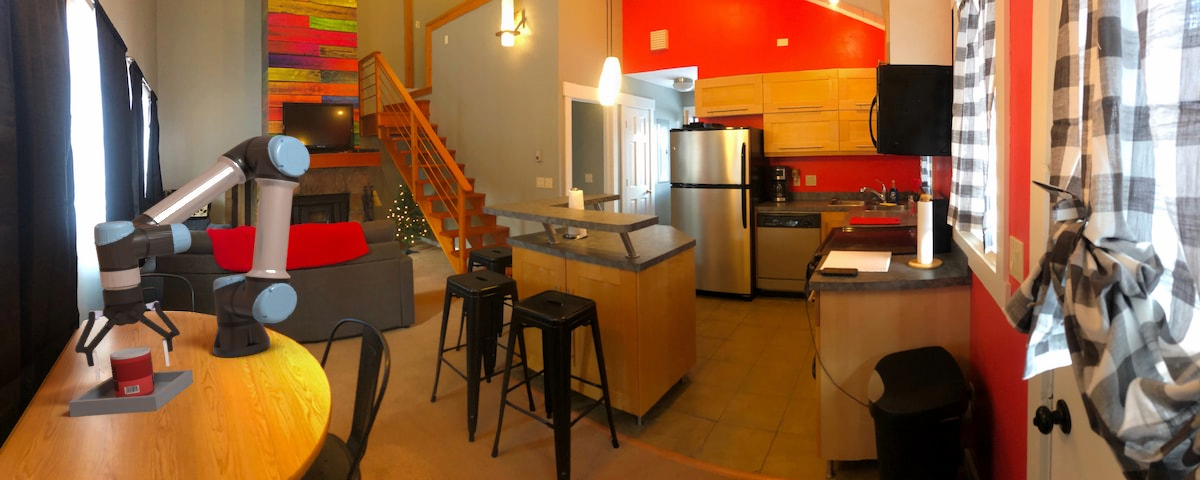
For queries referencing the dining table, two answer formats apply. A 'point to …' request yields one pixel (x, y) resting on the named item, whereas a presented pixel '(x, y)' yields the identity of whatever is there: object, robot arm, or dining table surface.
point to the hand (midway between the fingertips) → (133, 371)
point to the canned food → (132, 372)
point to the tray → (106, 402)
